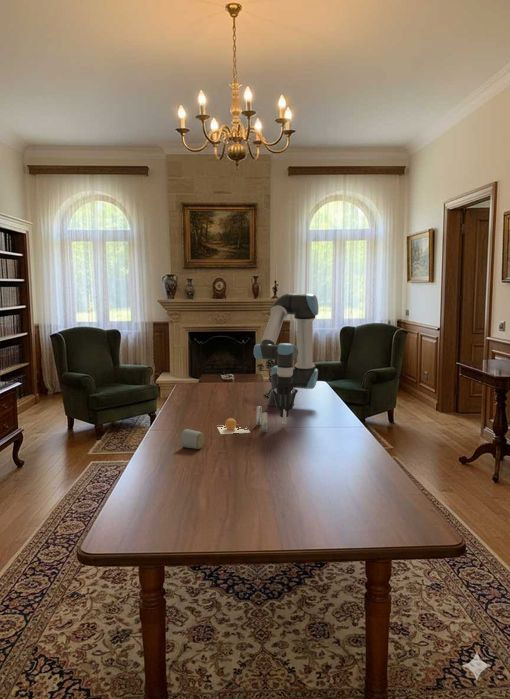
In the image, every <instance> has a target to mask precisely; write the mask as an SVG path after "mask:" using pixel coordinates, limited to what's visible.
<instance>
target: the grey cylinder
mask: <svg viewBox="0 0 510 699" xmlns="http://www.w3.org/2000/svg"><path fill="white" fill-rule="evenodd" d="M204 443H205V434H204V433H203V432H202V431H198V430H194V429H193V430H192V429H188V428H185V429H184V430H183V431H182V433H181V434H180V446H181V447H182V448H184V449H185V448H186V449H194V450H200V449H202V448H203V446H204Z"/></svg>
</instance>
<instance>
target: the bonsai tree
mask: <svg viewBox="0 0 510 699" xmlns="http://www.w3.org/2000/svg"><path fill="white" fill-rule="evenodd" d="M252 355H253V356H254V352H253V353H252ZM274 366H277V360H268V359H267V360H266V361H265V366H264V364H263V363H258V364H257V366H256V368H258V370H257V372H255V373H254V375H256V374H259V373H260V372H265V371H268V372H267V373H268V381H269V383H271V372H272V368H273V367H274ZM264 368H265V369H264ZM270 393H271V388H270V389H269V390H268V392H266V394H265V393H264V396H265V395H267V396H270ZM267 396H266V397H267Z"/></svg>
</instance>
